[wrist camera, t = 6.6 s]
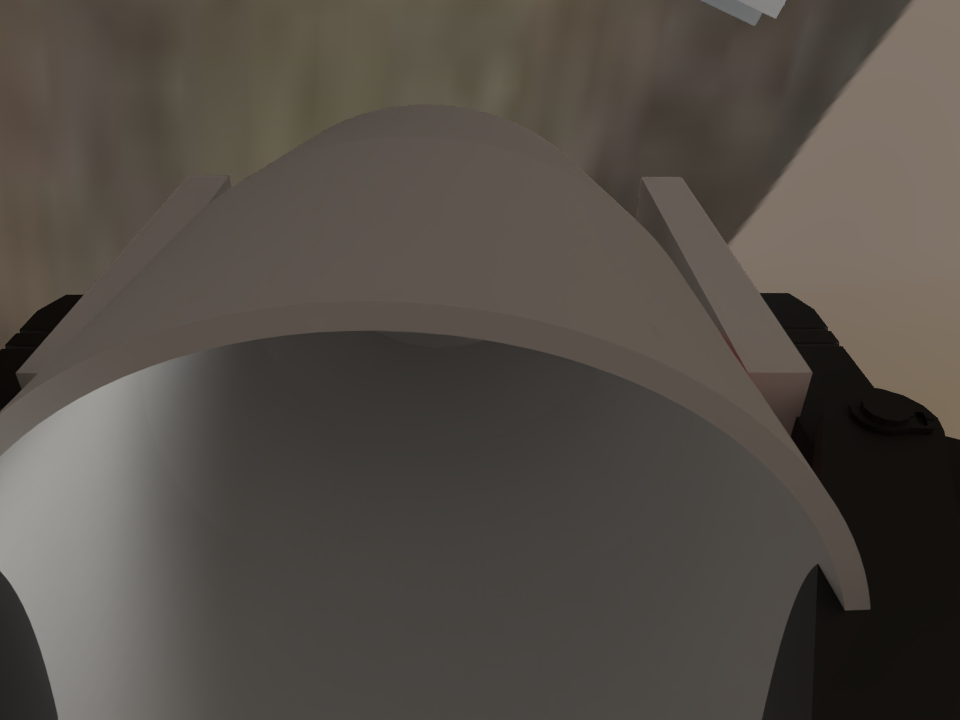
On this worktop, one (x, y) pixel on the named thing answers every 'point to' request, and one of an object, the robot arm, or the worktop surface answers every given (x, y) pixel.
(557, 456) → the cup
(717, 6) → the dish rack
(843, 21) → the worktop surface
